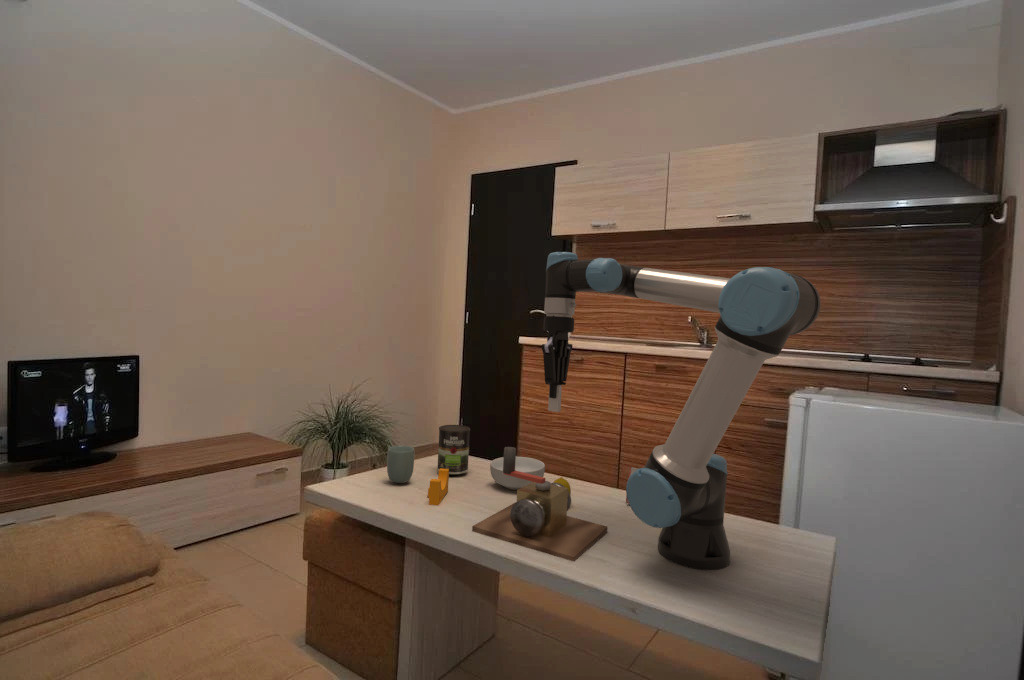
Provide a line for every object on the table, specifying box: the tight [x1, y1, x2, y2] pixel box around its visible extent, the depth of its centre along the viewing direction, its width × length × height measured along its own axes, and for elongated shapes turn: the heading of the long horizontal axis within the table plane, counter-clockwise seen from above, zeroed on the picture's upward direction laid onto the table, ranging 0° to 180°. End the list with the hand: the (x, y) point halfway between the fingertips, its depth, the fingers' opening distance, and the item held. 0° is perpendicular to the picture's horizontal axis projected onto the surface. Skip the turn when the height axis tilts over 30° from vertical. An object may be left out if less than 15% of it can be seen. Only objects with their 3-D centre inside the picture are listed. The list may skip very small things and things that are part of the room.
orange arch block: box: [427, 468, 450, 507], centre depth 141 cm, size 12×4×6 cm, turn 175°
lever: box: [503, 446, 552, 490], centre depth 123 cm, size 13×4×8 cm, turn 56°
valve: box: [510, 482, 572, 538], centre depth 121 cm, size 9×16×9 cm, turn 149°
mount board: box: [471, 501, 609, 562], centre depth 121 cm, size 26×20×2 cm
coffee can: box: [436, 424, 471, 475], centre depth 167 cm, size 10×10×14 cm
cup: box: [386, 444, 415, 484], centre depth 153 cm, size 8×8×10 cm
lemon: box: [552, 476, 572, 496], centre depth 139 cm, size 6×6×8 cm
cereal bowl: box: [489, 456, 546, 491], centre depth 154 cm, size 17×17×7 cm
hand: (554, 410), depth 125 cm, fingers closed
